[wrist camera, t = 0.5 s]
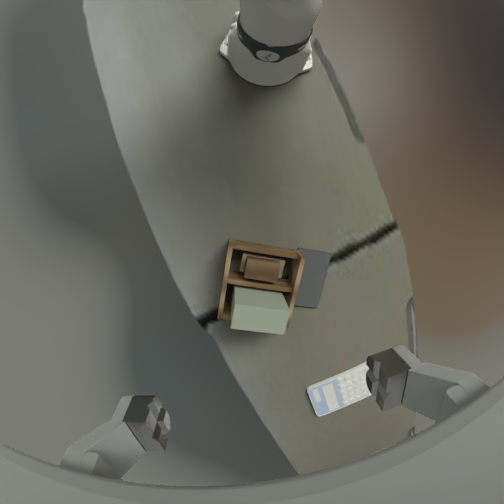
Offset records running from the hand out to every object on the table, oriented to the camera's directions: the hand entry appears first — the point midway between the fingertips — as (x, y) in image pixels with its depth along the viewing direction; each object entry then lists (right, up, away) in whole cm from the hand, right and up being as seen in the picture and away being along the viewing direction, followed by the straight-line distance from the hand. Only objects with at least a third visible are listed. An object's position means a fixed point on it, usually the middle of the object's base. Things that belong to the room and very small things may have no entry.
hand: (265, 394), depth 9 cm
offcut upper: (+1, +2, +42) cm, 42 cm away
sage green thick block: (0, -3, +46) cm, 46 cm away
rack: (+1, 0, +45) cm, 45 cm away
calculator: (+25, -31, +55) cm, 68 cm away
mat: (+11, 0, +46) cm, 47 cm away
